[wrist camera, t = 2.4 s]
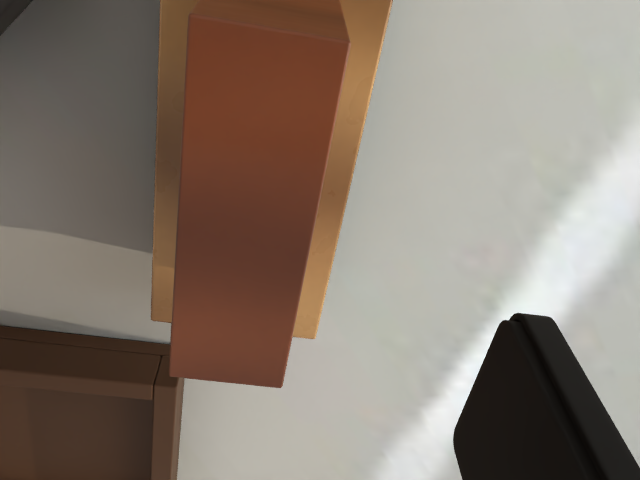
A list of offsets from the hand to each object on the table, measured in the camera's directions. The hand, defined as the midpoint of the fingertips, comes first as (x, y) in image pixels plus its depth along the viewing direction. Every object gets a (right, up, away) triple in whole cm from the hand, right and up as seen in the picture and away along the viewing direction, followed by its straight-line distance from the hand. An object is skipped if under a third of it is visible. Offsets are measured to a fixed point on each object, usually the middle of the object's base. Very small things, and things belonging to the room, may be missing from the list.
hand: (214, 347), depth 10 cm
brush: (0, +6, +8) cm, 9 cm away
